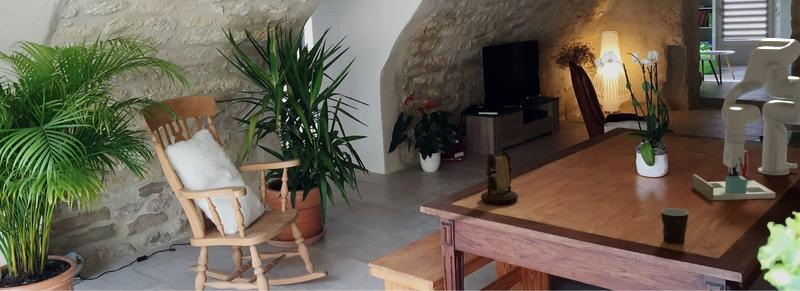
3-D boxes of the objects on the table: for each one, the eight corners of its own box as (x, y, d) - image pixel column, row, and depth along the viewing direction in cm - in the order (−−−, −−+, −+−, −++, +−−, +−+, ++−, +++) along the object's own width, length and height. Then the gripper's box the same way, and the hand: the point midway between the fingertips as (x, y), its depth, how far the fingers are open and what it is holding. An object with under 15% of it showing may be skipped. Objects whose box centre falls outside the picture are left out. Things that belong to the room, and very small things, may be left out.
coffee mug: (664, 235, 270) (665, 207, 268) (690, 239, 266) (691, 210, 264) (654, 245, 261) (654, 215, 259) (680, 249, 256) (681, 219, 254)
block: (740, 189, 316) (741, 175, 315) (746, 193, 310) (746, 179, 309) (725, 189, 316) (725, 176, 315) (730, 193, 311) (731, 179, 309)
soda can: (749, 182, 333) (750, 152, 330) (731, 182, 334) (732, 152, 331) (745, 178, 339) (747, 149, 337) (727, 178, 341) (729, 149, 338)
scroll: (494, 208, 311) (493, 158, 307) (474, 200, 323) (473, 152, 319) (525, 202, 317) (525, 153, 313) (504, 194, 330) (503, 147, 326)
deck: (753, 185, 329) (754, 172, 328) (775, 198, 309) (776, 184, 308) (692, 187, 329) (693, 174, 328) (710, 200, 310) (711, 186, 309)
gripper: (718, 135, 322) (716, 179, 326) (733, 142, 307) (730, 188, 311) (737, 134, 322) (735, 178, 325) (752, 141, 307) (750, 187, 311)
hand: (733, 183), depth 318 cm, fingers closed
